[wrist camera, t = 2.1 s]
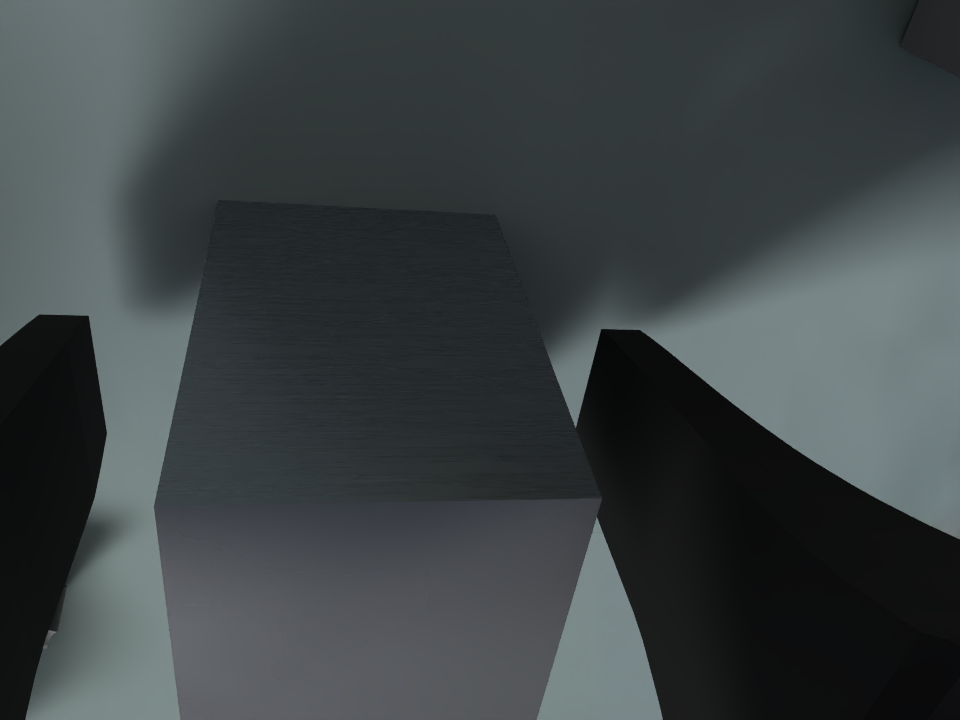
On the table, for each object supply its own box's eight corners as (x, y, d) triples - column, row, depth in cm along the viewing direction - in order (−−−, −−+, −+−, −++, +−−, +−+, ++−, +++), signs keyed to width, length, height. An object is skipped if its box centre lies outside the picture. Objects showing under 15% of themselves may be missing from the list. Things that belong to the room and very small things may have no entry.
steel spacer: (495, 214, 13) (601, 497, 8) (463, 419, 15) (531, 734, 10) (218, 200, 12) (153, 506, 7) (229, 418, 14) (185, 762, 9)
